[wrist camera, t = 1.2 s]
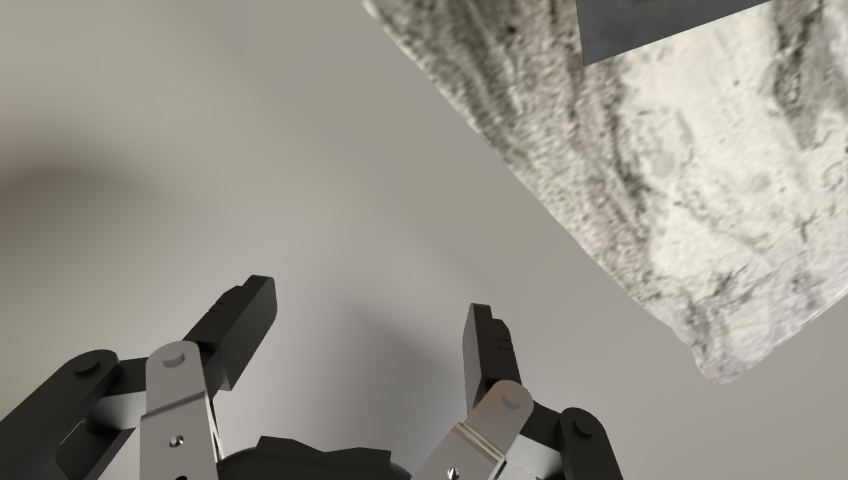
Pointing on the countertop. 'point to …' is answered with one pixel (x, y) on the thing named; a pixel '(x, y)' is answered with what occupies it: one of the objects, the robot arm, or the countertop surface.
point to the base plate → (643, 22)
